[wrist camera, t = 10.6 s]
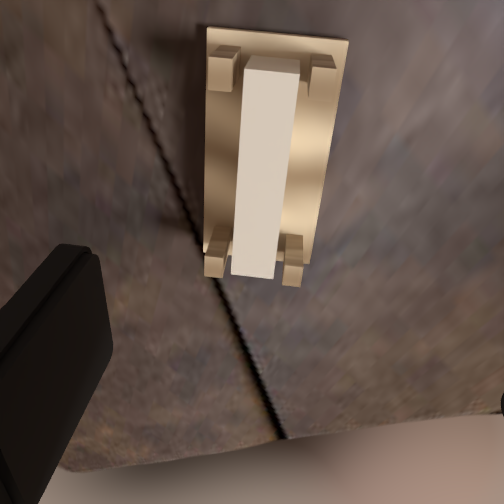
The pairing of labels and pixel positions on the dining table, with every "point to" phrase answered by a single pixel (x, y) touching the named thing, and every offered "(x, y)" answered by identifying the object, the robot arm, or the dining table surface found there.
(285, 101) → the white rectangular block
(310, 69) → the rack
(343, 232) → the dining table surface
